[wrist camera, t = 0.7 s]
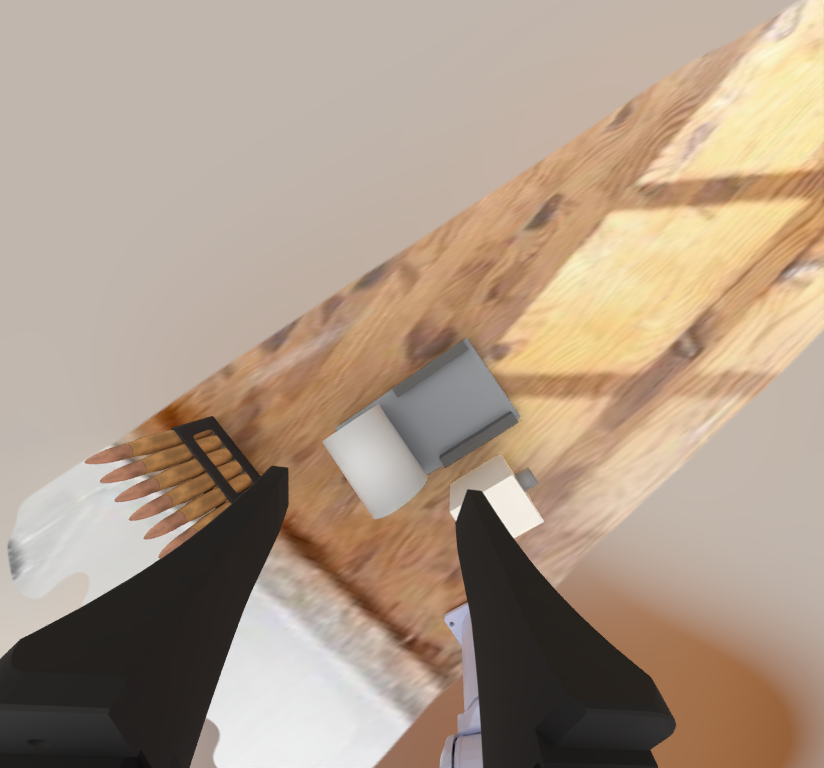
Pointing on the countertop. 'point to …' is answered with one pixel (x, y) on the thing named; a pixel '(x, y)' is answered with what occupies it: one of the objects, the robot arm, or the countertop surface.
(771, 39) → the countertop surface
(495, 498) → the block
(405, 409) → the motor mount
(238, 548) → the robot arm
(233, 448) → the ammunition clip
